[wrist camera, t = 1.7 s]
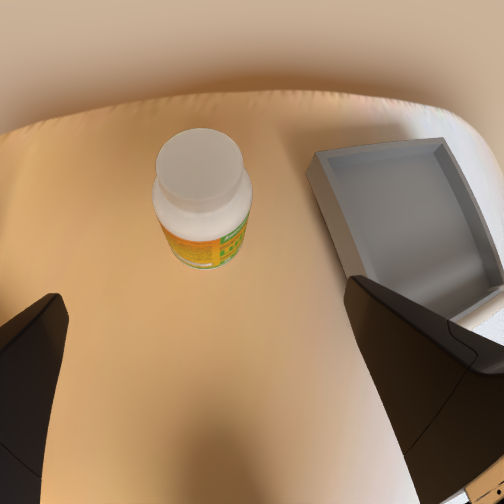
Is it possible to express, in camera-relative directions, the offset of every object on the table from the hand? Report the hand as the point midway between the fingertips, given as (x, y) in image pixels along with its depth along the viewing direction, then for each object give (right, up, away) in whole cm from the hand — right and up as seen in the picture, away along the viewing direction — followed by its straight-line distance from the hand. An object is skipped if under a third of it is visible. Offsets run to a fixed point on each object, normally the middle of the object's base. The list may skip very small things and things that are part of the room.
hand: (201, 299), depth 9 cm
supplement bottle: (-2, +3, +14) cm, 14 cm away
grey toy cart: (+13, +2, +15) cm, 20 cm away
